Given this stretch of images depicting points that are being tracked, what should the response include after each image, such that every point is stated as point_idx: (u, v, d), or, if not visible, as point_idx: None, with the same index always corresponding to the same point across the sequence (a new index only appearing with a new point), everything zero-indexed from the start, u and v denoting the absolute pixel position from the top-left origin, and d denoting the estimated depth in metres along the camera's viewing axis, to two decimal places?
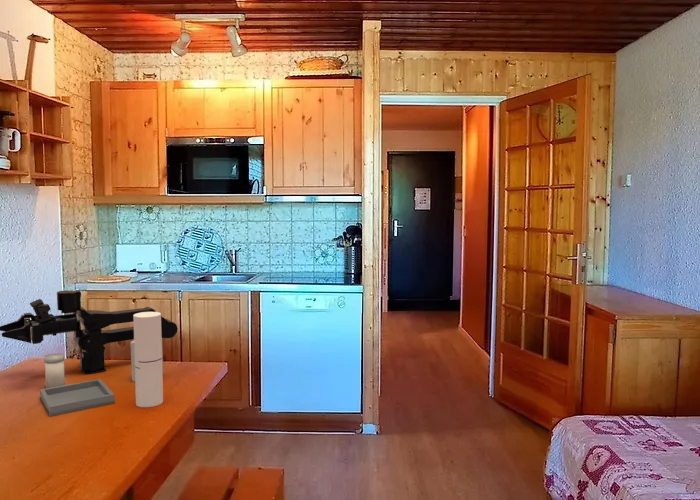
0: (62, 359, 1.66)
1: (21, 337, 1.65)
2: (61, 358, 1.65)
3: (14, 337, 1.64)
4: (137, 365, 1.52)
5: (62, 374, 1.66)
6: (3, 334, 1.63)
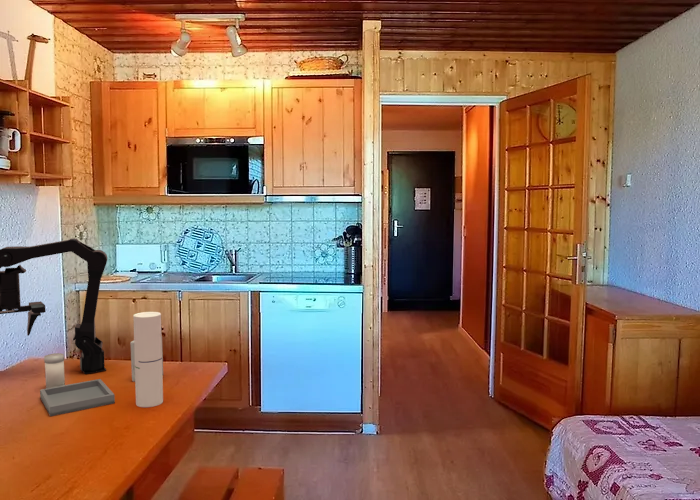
0: (62, 359, 1.66)
1: None
2: (61, 358, 1.65)
3: None
4: (137, 365, 1.52)
5: (62, 374, 1.66)
6: None
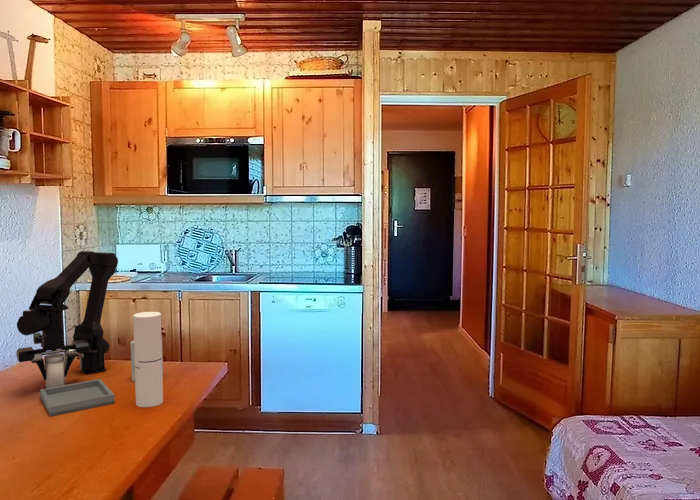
0: (62, 359, 1.66)
1: None
2: (61, 358, 1.65)
3: (41, 371, 1.63)
4: (137, 365, 1.52)
5: (62, 374, 1.66)
6: None
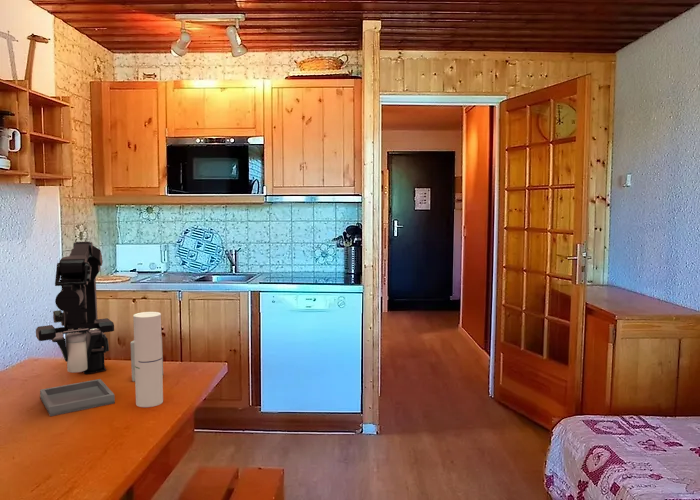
0: (85, 338, 1.53)
1: None
2: (84, 337, 1.53)
3: (62, 352, 1.51)
4: (137, 365, 1.52)
5: (85, 355, 1.54)
6: (65, 359, 1.52)
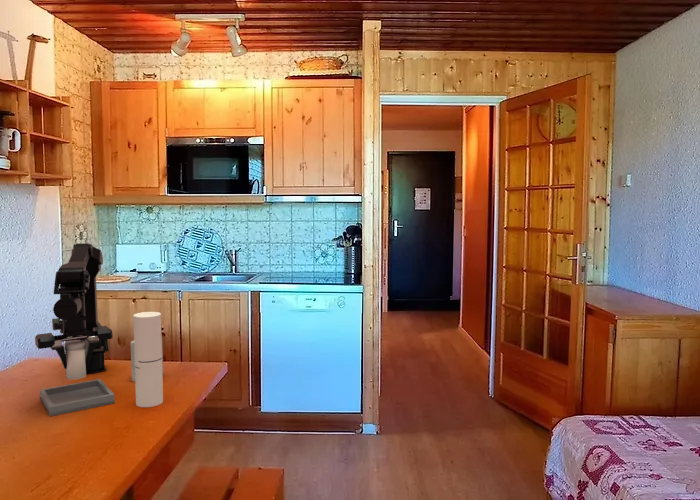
0: (83, 346, 1.55)
1: None
2: (82, 345, 1.55)
3: (61, 359, 1.52)
4: (137, 365, 1.52)
5: (83, 362, 1.55)
6: None
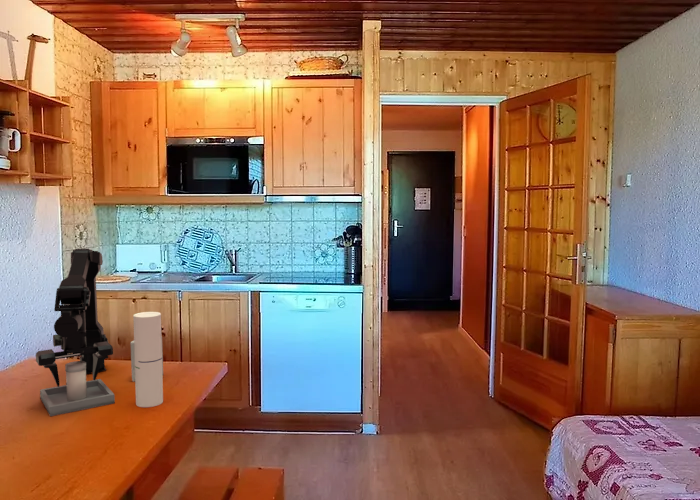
0: (84, 367, 1.56)
1: None
2: (83, 366, 1.55)
3: (54, 377, 1.52)
4: (137, 365, 1.52)
5: (84, 383, 1.56)
6: None
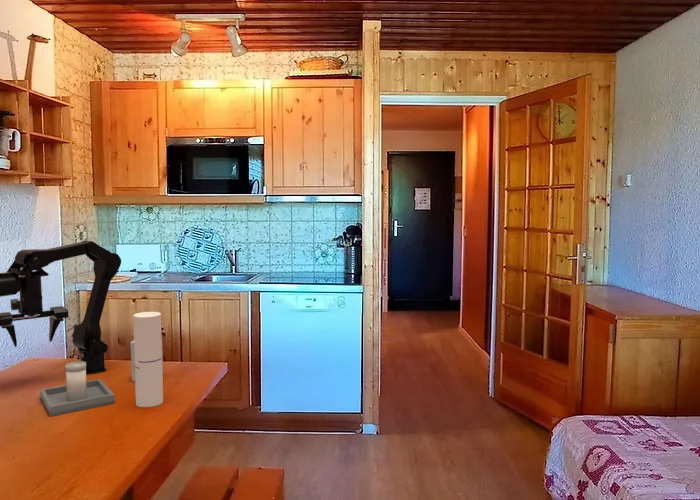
0: (84, 367, 1.56)
1: None
2: (83, 366, 1.55)
3: (11, 337, 1.62)
4: (137, 365, 1.52)
5: (84, 383, 1.56)
6: (14, 345, 1.64)
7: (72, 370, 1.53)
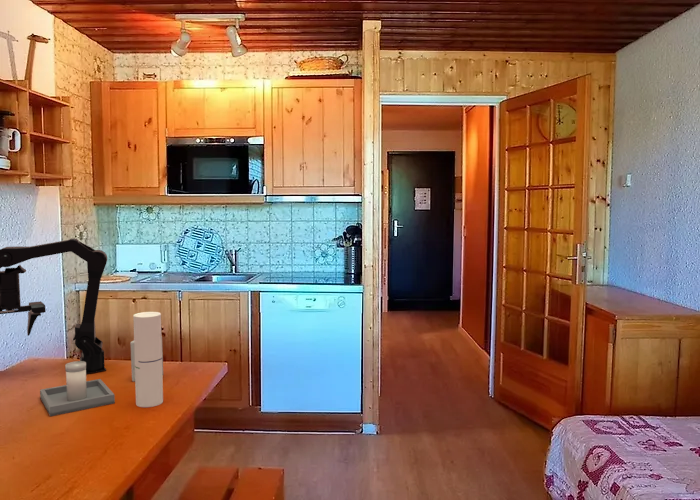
0: (84, 367, 1.56)
1: None
2: (83, 366, 1.55)
3: None
4: (137, 365, 1.52)
5: (84, 383, 1.56)
6: None
7: (72, 370, 1.53)
